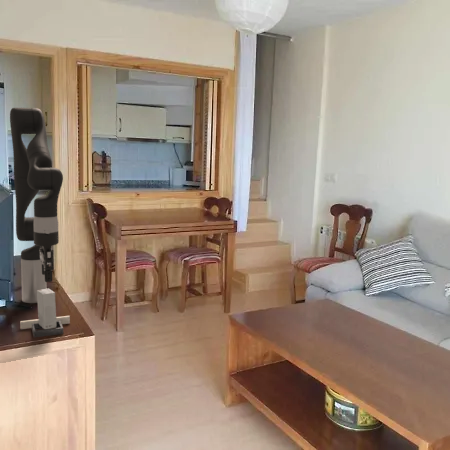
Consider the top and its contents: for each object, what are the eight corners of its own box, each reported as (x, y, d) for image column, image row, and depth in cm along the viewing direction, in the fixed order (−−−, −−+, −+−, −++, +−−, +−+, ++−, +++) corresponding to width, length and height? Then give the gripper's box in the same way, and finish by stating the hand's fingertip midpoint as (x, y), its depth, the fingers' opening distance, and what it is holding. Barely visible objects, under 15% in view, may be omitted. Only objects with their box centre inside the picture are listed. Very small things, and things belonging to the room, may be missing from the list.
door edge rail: (20, 328, 162) (20, 321, 161) (69, 322, 169) (69, 315, 168) (20, 329, 161) (20, 322, 160) (69, 323, 168) (69, 316, 167)
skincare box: (57, 327, 159) (56, 292, 157) (43, 330, 156) (42, 294, 154) (50, 321, 163) (50, 287, 161) (37, 324, 160) (36, 289, 158)
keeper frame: (31, 329, 161) (31, 323, 161) (60, 325, 165) (60, 320, 165) (33, 337, 155) (33, 331, 154) (63, 333, 159) (63, 328, 158)
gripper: (31, 226, 159) (32, 273, 161) (35, 234, 146) (36, 285, 149) (55, 225, 162) (56, 271, 165) (61, 233, 149) (62, 283, 152)
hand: (46, 277), depth 157 cm, fingers open, 8 cm apart
